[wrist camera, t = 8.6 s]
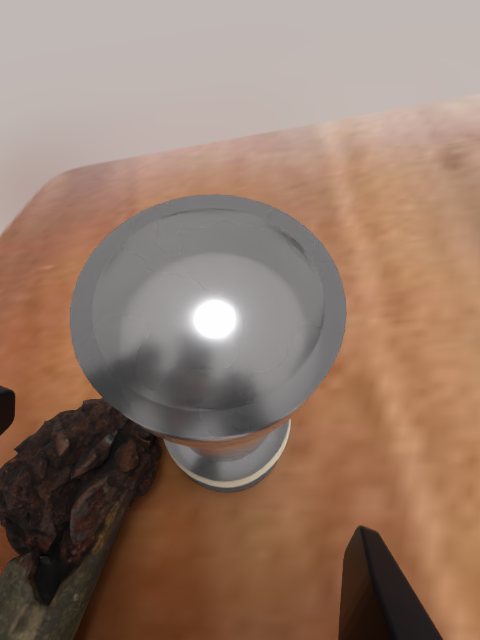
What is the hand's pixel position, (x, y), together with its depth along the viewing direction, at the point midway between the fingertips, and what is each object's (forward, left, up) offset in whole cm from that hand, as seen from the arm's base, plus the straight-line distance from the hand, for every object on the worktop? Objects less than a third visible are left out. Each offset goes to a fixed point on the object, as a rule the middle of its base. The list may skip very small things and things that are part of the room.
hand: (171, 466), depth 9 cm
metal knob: (+2, -2, -9) cm, 9 cm away
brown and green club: (0, +8, -14) cm, 16 cm away
